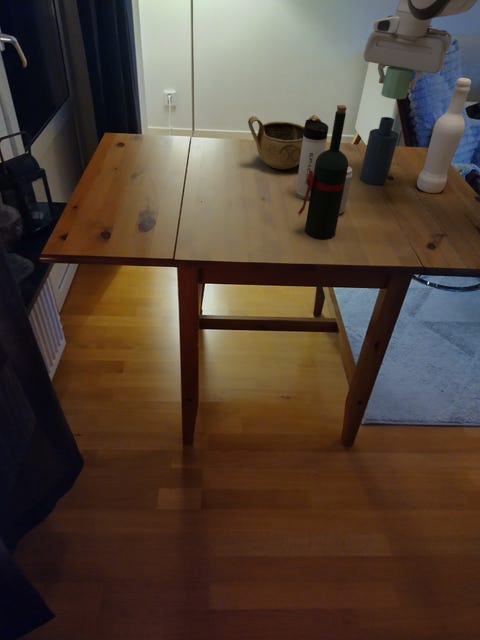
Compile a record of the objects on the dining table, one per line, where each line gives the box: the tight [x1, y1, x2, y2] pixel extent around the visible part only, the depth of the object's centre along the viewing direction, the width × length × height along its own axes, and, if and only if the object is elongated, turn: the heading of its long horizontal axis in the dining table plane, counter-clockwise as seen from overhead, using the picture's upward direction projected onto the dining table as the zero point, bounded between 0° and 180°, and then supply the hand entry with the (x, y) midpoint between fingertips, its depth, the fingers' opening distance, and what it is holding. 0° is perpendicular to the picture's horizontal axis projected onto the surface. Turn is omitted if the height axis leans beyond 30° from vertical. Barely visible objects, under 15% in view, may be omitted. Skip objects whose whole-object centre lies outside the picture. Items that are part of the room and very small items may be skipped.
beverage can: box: [339, 165, 353, 215], centre depth 121 cm, size 6×6×12 cm
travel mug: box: [295, 118, 329, 201], centre depth 125 cm, size 6×7×20 cm
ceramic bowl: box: [247, 114, 322, 170], centre depth 142 cm, size 22×17×15 cm
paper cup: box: [380, 66, 415, 100], centre depth 123 cm, size 7×7×6 cm
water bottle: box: [359, 116, 399, 186], centre depth 135 cm, size 8×8×18 cm
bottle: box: [416, 77, 472, 194], centre depth 129 cm, size 8×8×30 cm
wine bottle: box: [297, 104, 349, 241], centre depth 106 cm, size 8×10×30 cm
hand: (396, 85), depth 123 cm, fingers closed on paper cup, 6 cm apart
